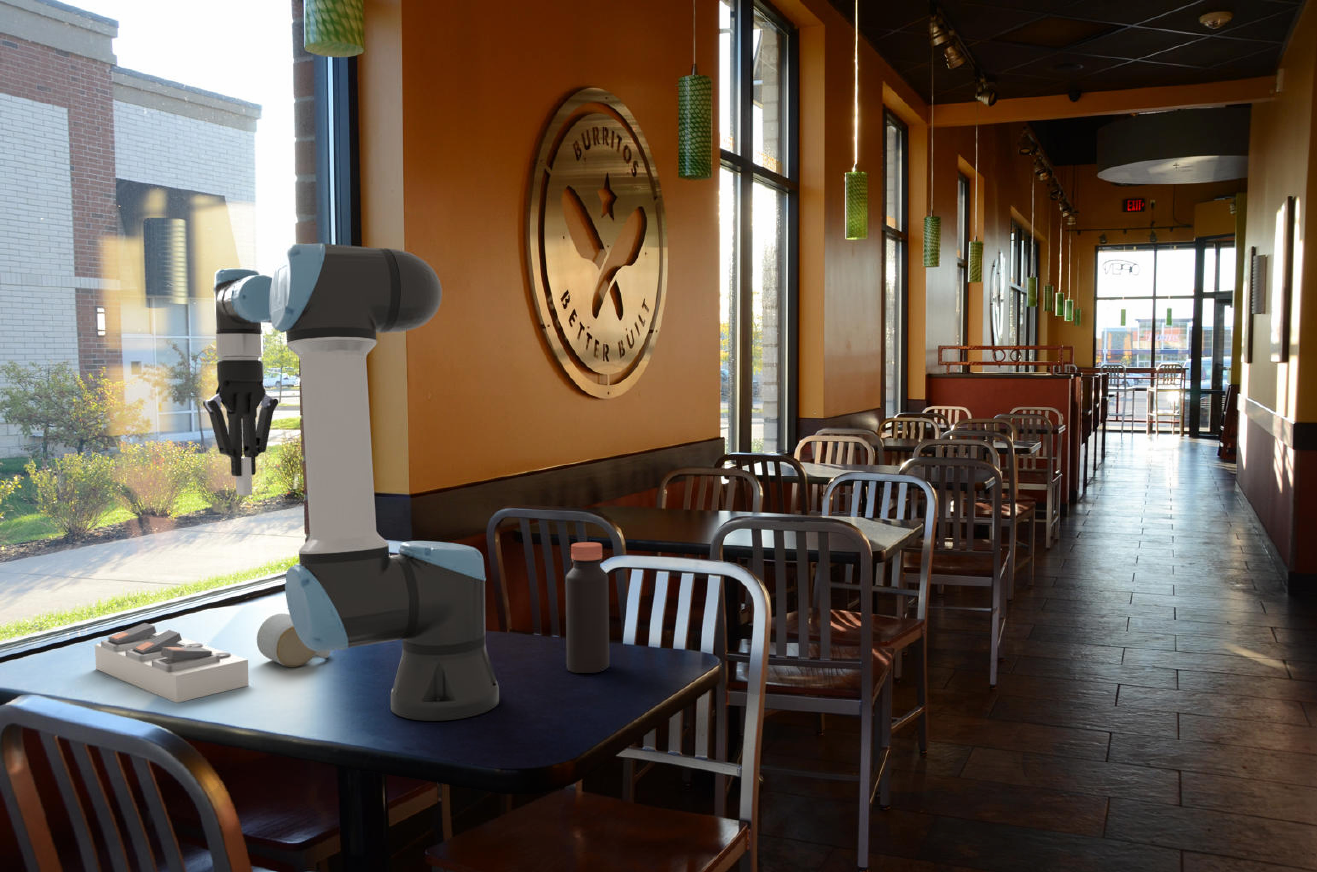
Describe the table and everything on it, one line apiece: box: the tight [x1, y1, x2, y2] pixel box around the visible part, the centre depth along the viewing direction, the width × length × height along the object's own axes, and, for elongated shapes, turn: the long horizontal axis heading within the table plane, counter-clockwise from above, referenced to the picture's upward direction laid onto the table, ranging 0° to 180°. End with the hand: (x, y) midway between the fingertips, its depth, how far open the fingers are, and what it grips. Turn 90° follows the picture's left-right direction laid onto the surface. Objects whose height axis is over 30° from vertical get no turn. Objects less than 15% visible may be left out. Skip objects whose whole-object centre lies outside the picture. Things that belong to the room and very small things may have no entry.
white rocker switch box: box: [94, 631, 250, 704], centre depth 165 cm, size 28×11×5 cm, turn 50°
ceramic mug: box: [256, 613, 332, 668], centre depth 174 cm, size 11×8×8 cm
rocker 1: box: [107, 622, 157, 645], centre depth 170 cm, size 4×6×1 cm, turn 139°
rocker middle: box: [132, 629, 182, 655], centre depth 164 cm, size 4×6×1 cm, turn 140°
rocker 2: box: [161, 647, 212, 659], centre depth 158 cm, size 4×6×1 cm, turn 140°
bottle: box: [565, 541, 610, 674], centre depth 168 cm, size 7×7×20 cm
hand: (244, 494), depth 184 cm, fingers closed
